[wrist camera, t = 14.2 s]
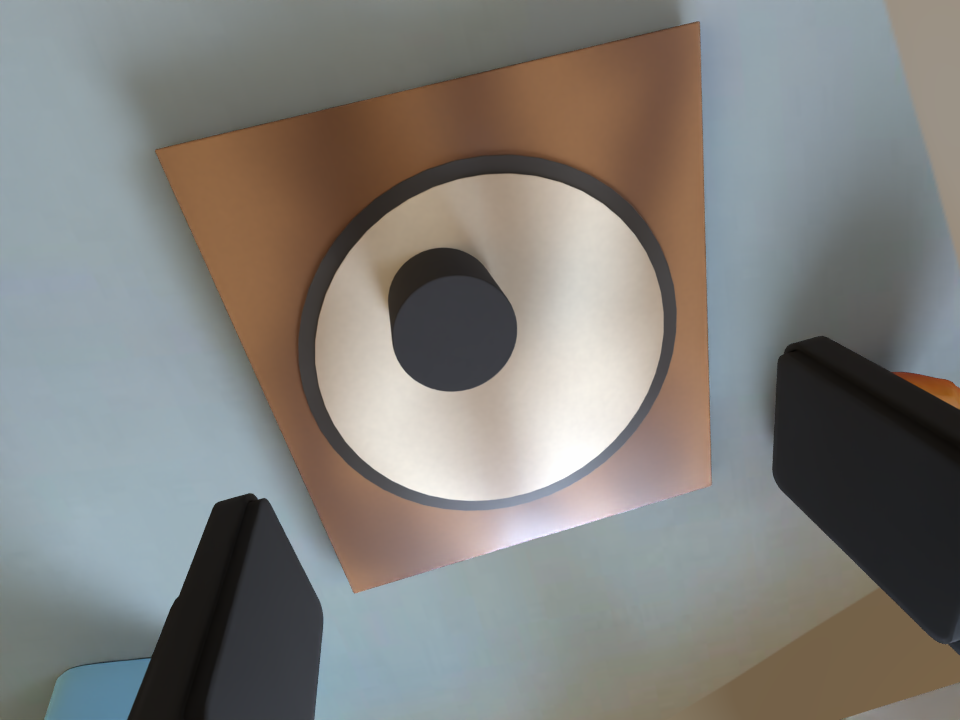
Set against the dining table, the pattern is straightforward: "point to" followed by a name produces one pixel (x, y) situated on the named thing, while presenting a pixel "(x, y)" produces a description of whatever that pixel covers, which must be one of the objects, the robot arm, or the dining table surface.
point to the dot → (450, 320)
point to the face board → (515, 268)
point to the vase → (97, 691)
